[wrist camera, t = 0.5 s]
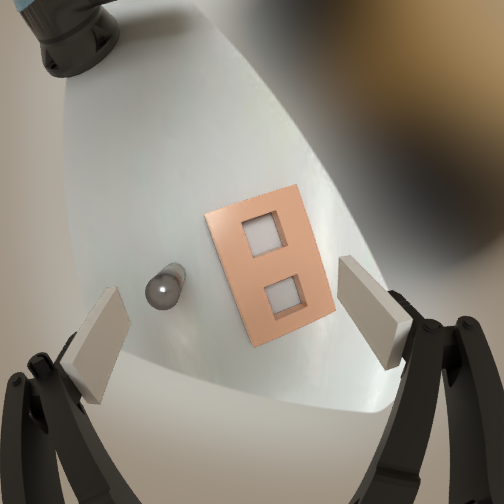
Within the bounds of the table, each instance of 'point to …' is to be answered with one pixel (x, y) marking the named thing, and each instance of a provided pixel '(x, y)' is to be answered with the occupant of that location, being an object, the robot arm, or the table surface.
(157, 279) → the steel dowel
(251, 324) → the terracotta block
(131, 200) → the table surface
